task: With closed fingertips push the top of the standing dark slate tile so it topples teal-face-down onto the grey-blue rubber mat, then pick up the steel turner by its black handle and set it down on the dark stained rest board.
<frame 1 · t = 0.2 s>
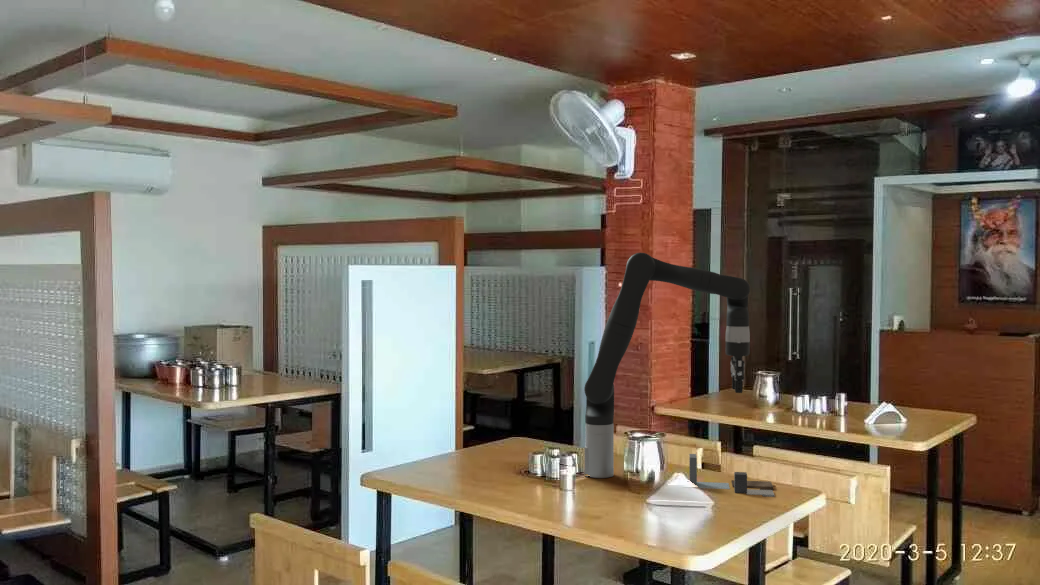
hand: (737, 391, 285), 28 cm above the table, fingers open, 8 cm apart
turner: (740, 493, 268), on the table
mat: (705, 486, 276), on the table
rest board: (752, 486, 276), on the table
tile: (692, 484, 277), resting on mat
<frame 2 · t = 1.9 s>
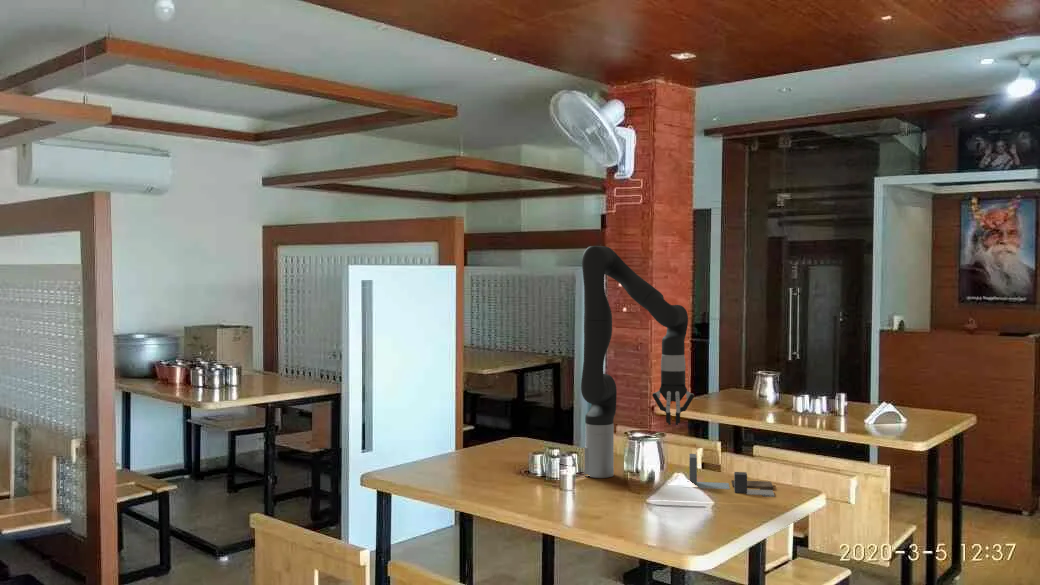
hand: (673, 424, 278), 19 cm above the table, fingers closed
nothing on the table moved.
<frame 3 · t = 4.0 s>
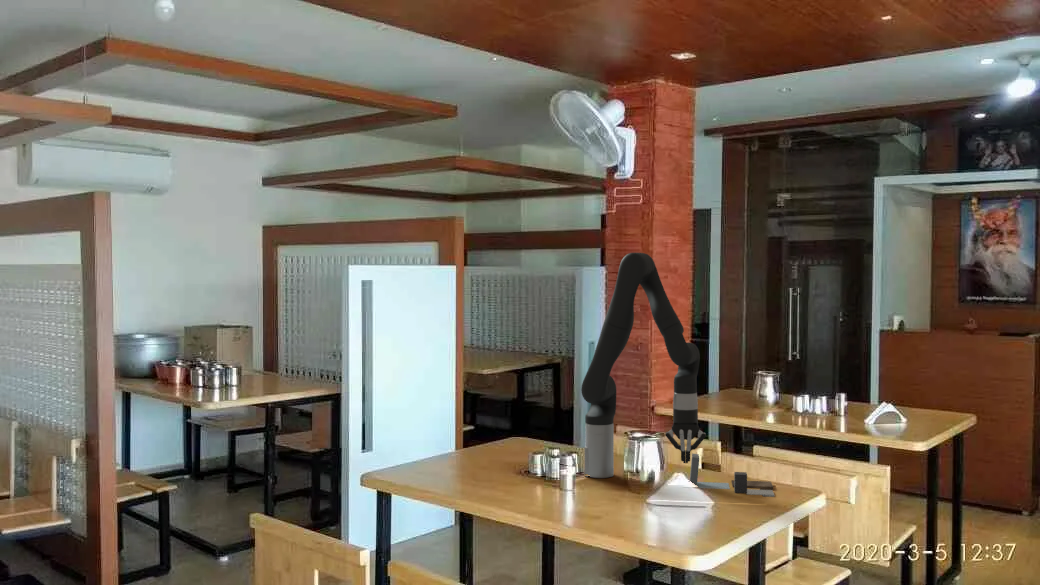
hand: (685, 462, 277), 7 cm above the table, fingers closed
tile: (692, 484, 277), resting on mat, tilted 5°, touching gripper
everything else where it was.
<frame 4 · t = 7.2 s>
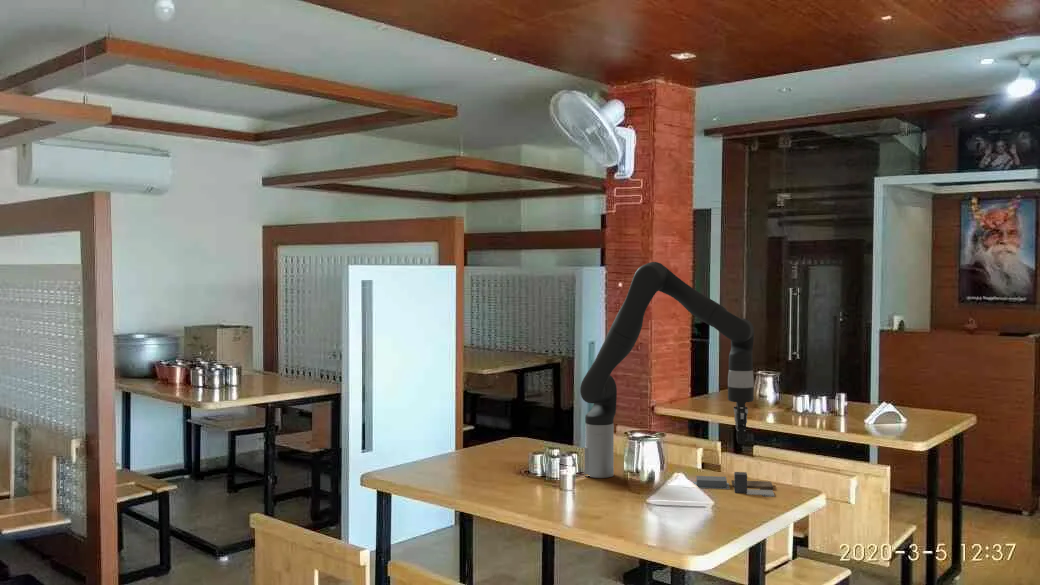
hand: (740, 442, 268), 15 cm above the table, fingers closed
tile: (696, 481, 277), point 2 cm above the table, tilted 90°, touching mat
everything else where it was.
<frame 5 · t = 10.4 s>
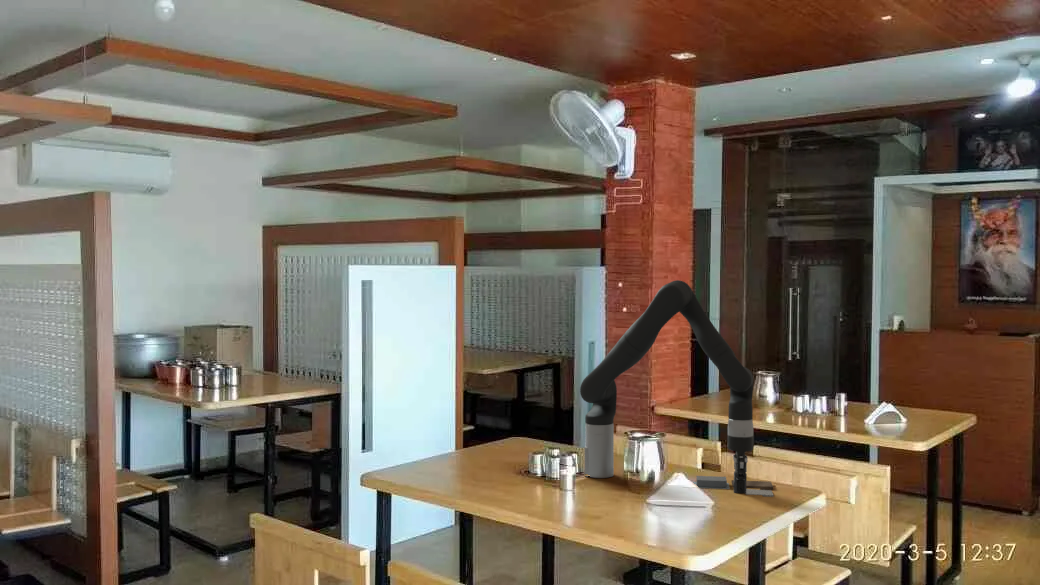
hand: (740, 490, 268), 1 cm above the table, fingers closed on turner, 3 cm apart
turner: (739, 492, 268), on the table, touching gripper
everything else where it was.
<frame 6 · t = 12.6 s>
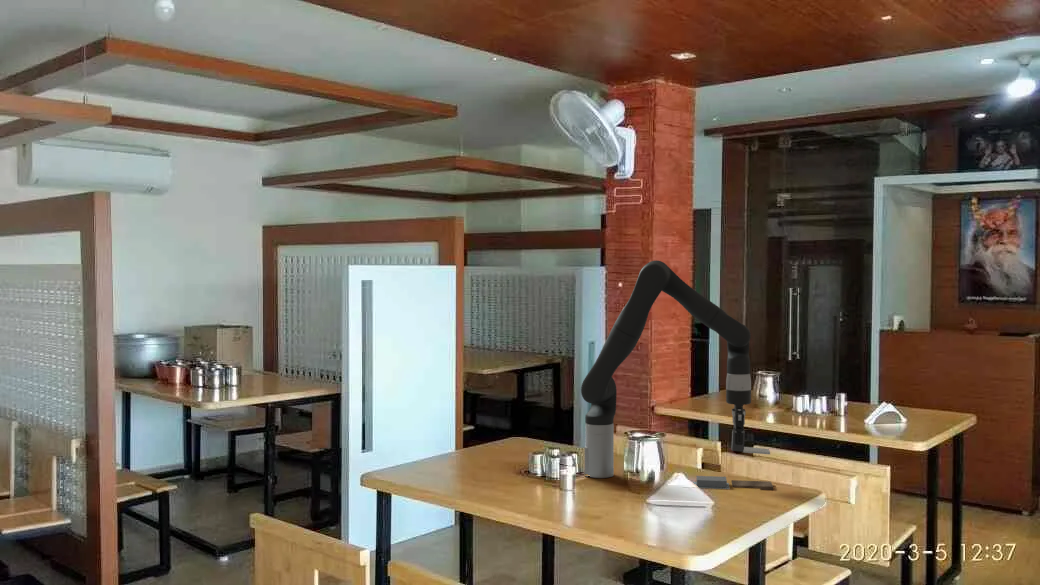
hand: (738, 443, 276), 13 cm above the table, fingers closed on turner, 3 cm apart
turner: (737, 450, 276), point 11 cm above the table, touching gripper
everything else where it was.
when the fingers open (3 cm above the table, at t = 15.0 s): turner stays where it is, resting on rest board.
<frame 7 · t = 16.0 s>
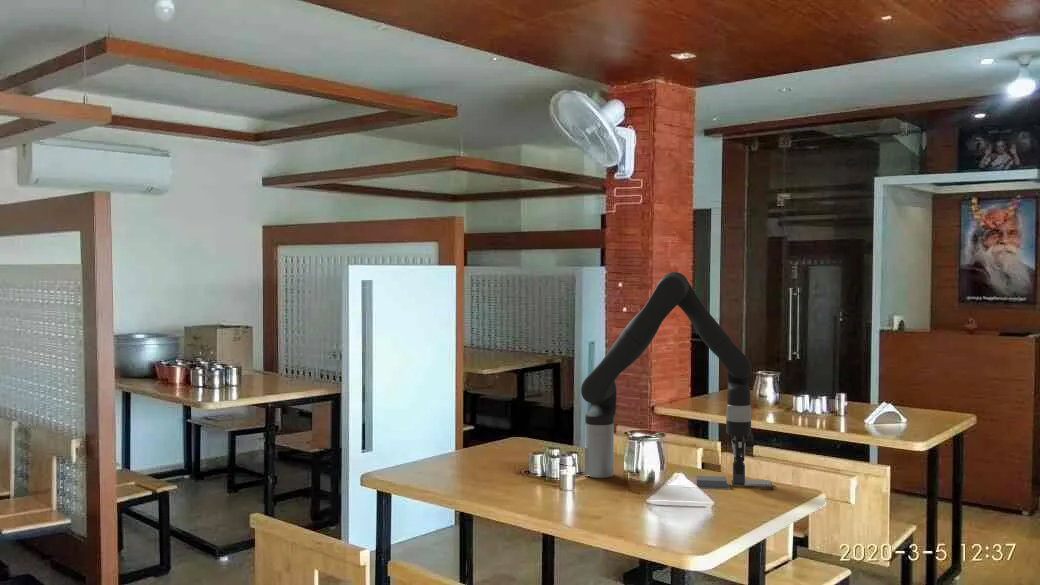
hand: (738, 471, 277), 5 cm above the table, fingers open, 8 cm apart
turner: (738, 483, 276), point 1 cm above the table, touching rest board
everything else where it was.
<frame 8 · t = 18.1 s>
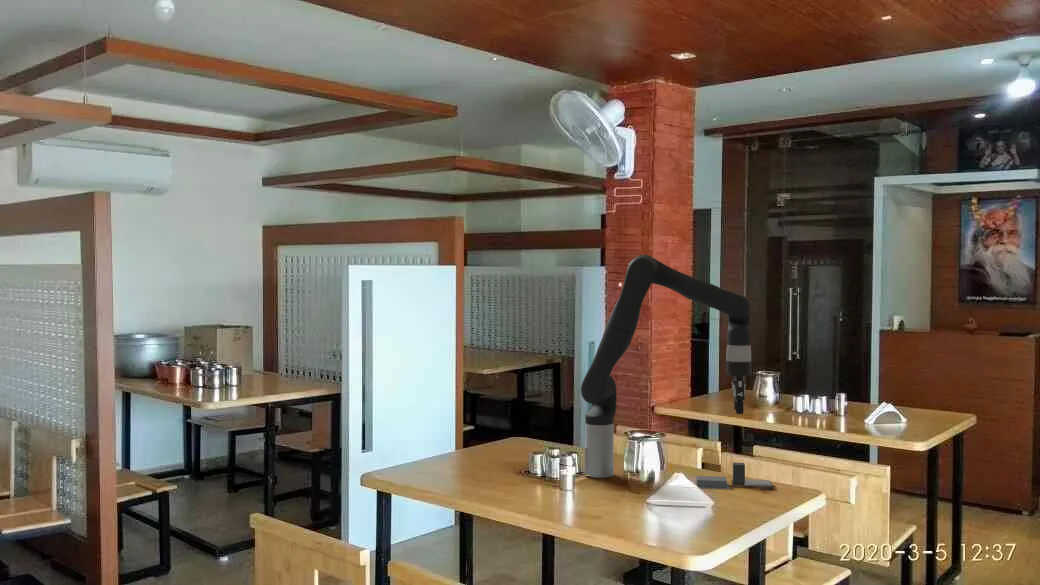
hand: (738, 411, 276), 23 cm above the table, fingers open, 8 cm apart
nothing on the table moved.
at the end: tile tilted 90°; tile inside the target area (3.4 cm from its centre), point 1.5 cm above the table; turner inside the target area on the rest board (4.0 cm from its centre), point 1.0 cm above the rest board's base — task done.
